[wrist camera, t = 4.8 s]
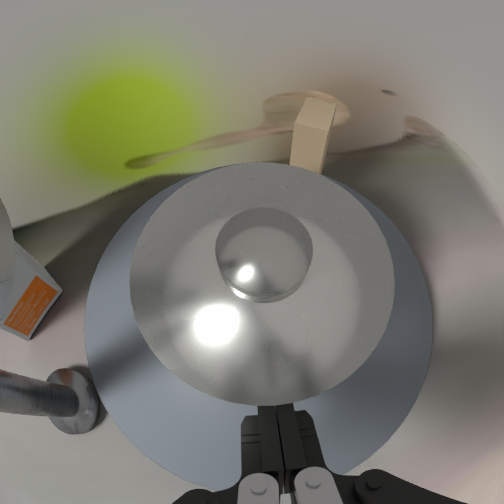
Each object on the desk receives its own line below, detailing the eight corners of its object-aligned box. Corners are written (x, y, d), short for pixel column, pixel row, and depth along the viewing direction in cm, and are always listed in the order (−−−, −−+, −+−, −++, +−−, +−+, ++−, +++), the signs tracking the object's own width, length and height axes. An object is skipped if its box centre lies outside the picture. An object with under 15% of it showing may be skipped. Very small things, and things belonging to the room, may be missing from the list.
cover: (153, 364, 15) (73, 329, 8) (214, 228, 20) (194, 130, 12) (316, 420, 14) (375, 439, 6) (355, 269, 18) (407, 183, 11)
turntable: (52, 386, 16) (-33, 363, 8) (185, 153, 26) (168, 77, 19) (364, 515, 11) (425, 565, 4) (430, 226, 22) (478, 159, 14)
